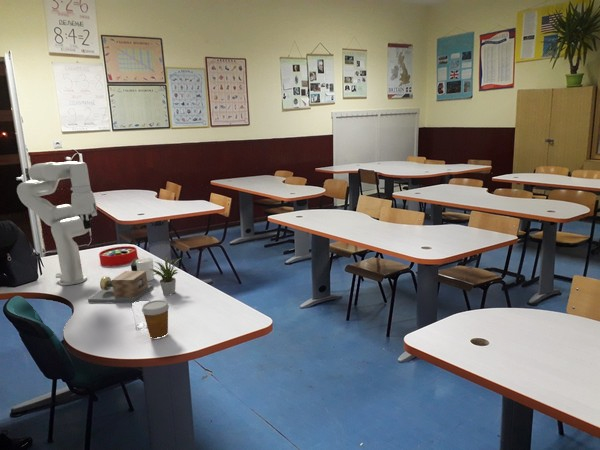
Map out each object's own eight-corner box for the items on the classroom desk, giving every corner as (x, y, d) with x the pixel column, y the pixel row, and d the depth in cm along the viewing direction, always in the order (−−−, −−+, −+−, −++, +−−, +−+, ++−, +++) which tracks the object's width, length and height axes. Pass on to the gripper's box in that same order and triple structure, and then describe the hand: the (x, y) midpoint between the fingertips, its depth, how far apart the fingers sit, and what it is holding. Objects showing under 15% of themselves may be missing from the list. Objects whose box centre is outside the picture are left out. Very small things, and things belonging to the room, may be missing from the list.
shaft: (101, 292, 220) (99, 279, 218) (108, 287, 226) (106, 275, 224) (138, 292, 217) (136, 279, 215) (144, 287, 223) (142, 275, 221)
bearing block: (114, 296, 216) (111, 279, 214) (127, 287, 227) (125, 271, 226) (135, 296, 214) (133, 279, 212) (147, 287, 226) (145, 270, 224)
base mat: (88, 302, 215) (87, 299, 215) (109, 287, 232) (109, 284, 232) (134, 302, 212) (134, 299, 211) (153, 287, 229) (152, 284, 228)
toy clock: (142, 250, 274) (107, 258, 261) (143, 260, 276) (108, 269, 263) (127, 244, 289) (93, 252, 276) (129, 253, 290) (95, 262, 277)
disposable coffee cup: (140, 338, 177) (135, 307, 174) (159, 327, 185) (155, 298, 182) (158, 343, 172) (154, 311, 169) (178, 332, 180) (174, 302, 177)
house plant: (176, 284, 232) (172, 251, 228) (192, 290, 222) (188, 256, 218) (149, 293, 222) (144, 258, 218) (164, 300, 212) (160, 264, 209)
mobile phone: (136, 264, 251) (138, 256, 265) (130, 265, 250) (132, 257, 264) (137, 274, 252) (139, 265, 266) (131, 274, 251) (133, 265, 265)
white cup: (158, 278, 242) (155, 259, 240) (143, 283, 236) (141, 263, 234) (149, 275, 247) (147, 256, 245) (135, 279, 242) (132, 260, 239)
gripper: (61, 191, 221) (68, 230, 225) (92, 190, 219) (98, 230, 223) (71, 188, 228) (78, 226, 233) (101, 187, 226) (107, 226, 230)
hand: (88, 228), depth 228 cm, fingers closed
